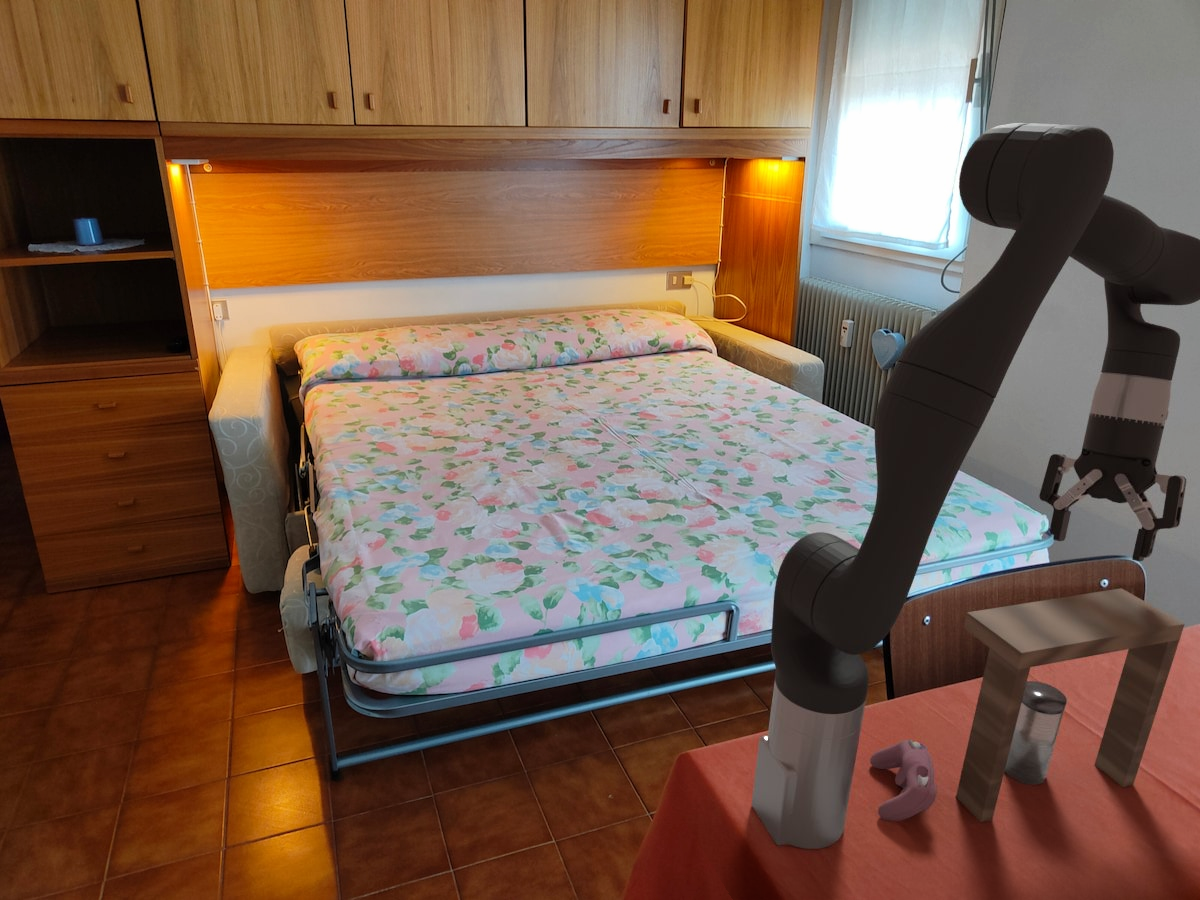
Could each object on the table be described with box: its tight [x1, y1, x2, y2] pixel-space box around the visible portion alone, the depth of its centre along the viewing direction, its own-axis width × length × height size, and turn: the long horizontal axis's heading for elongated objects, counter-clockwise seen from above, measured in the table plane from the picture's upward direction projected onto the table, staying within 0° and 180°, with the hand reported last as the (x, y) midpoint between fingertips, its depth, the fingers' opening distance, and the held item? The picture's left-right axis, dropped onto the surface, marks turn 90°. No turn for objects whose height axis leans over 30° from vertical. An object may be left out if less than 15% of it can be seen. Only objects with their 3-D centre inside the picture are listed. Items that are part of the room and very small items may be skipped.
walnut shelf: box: [955, 588, 1185, 823], centre depth 94 cm, size 22×8×22 cm, turn 107°
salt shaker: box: [1004, 680, 1068, 785], centre depth 97 cm, size 5×5×11 cm
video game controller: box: [869, 738, 938, 822], centre depth 94 cm, size 10×5×7 cm, turn 169°
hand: (1097, 550), depth 98 cm, fingers open, 8 cm apart
